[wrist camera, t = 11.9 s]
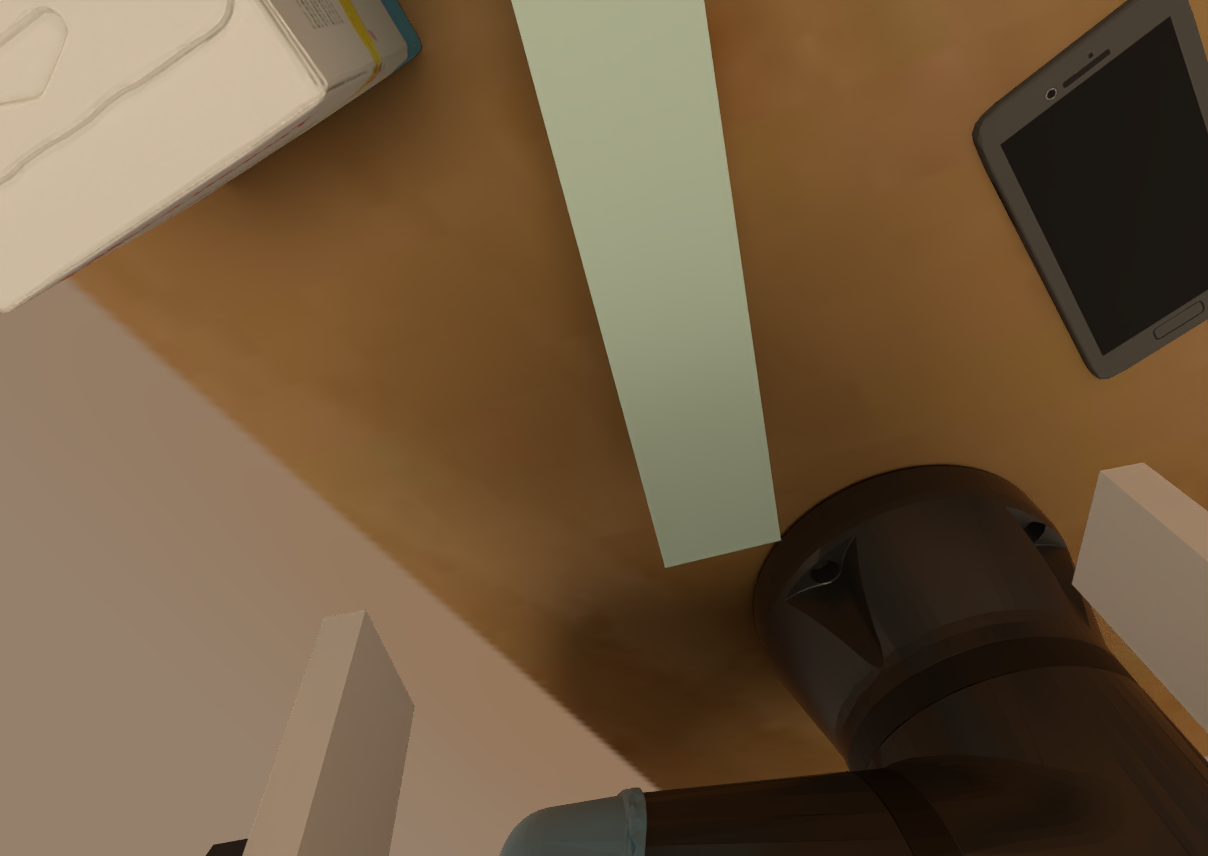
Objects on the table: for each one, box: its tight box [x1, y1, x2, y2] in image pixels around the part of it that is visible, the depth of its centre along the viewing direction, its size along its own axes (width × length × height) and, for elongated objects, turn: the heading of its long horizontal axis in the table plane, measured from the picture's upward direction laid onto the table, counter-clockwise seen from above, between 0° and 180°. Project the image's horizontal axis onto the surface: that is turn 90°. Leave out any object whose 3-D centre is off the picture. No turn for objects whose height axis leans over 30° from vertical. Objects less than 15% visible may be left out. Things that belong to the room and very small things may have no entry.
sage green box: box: [511, 0, 781, 568], centre depth 20 cm, size 27×14×8 cm, turn 14°
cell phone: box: [972, 0, 1208, 379], centre depth 27 cm, size 7×14×1 cm, turn 40°
